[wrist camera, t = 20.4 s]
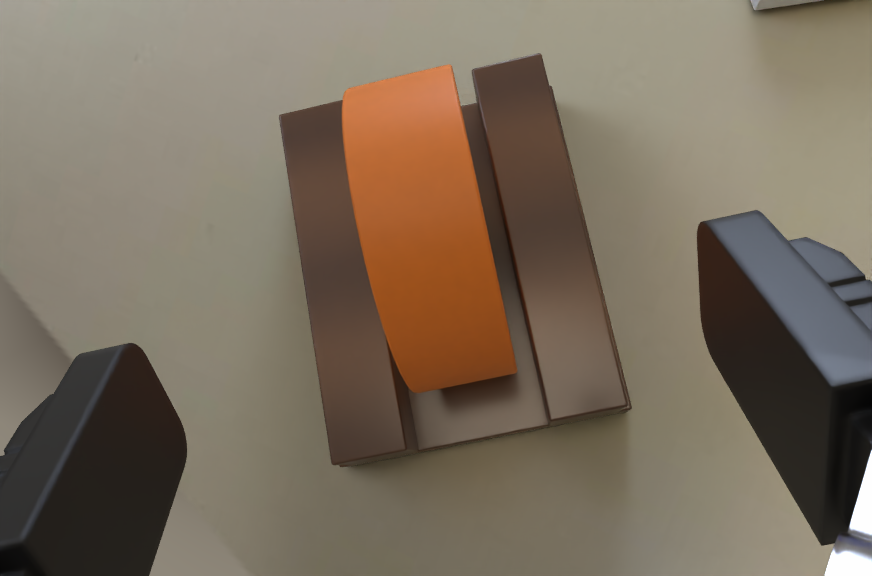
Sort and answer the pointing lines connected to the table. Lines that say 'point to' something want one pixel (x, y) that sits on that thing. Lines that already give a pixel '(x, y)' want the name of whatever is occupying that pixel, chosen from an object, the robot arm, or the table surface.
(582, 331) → the rack
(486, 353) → the disc
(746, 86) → the table surface
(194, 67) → the table surface
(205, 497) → the table surface
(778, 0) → the hard drive
